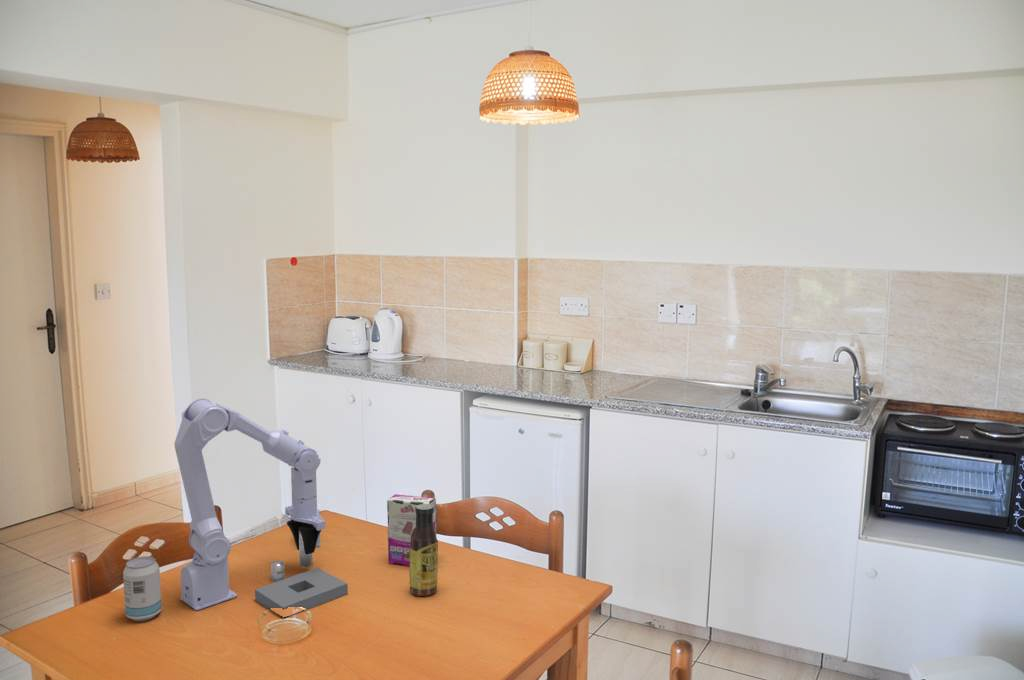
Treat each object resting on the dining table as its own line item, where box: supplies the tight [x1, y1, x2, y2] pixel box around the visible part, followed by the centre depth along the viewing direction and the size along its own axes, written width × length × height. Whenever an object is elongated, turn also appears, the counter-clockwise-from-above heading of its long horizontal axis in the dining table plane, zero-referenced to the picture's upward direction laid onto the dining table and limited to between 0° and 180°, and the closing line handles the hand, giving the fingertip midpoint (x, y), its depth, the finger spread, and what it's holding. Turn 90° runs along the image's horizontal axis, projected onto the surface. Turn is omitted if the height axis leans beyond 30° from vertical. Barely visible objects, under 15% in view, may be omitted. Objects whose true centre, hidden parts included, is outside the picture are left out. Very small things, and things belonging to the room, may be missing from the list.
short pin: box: [270, 559, 286, 583], centre depth 187 cm, size 3×3×4 cm
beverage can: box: [122, 555, 163, 622], centre depth 168 cm, size 7×7×12 cm
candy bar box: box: [386, 493, 437, 567], centre depth 195 cm, size 11×5×16 cm, turn 73°
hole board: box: [254, 567, 349, 610], centre depth 178 cm, size 16×12×2 cm
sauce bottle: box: [409, 504, 439, 597], centre depth 180 cm, size 7×6×20 cm
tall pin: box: [298, 531, 314, 568], centre depth 190 cm, size 3×3×9 cm
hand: (305, 550), depth 191 cm, fingers closed on tall pin, 3 cm apart
